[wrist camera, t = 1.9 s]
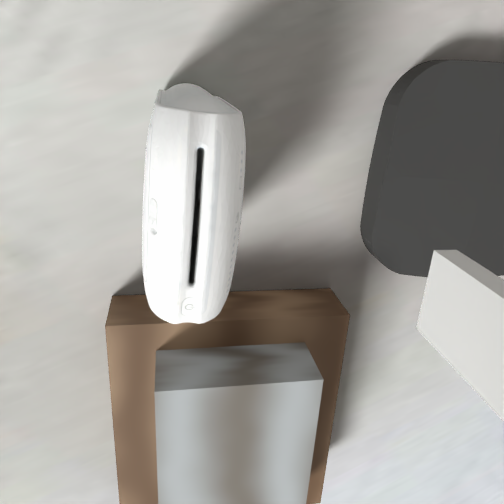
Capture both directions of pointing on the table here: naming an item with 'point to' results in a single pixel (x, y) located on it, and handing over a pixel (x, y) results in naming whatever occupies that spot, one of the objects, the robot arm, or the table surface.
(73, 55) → the table surface
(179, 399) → the grey block on wood
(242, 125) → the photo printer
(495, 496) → the table surface
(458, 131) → the media streaming box
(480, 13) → the table surface
